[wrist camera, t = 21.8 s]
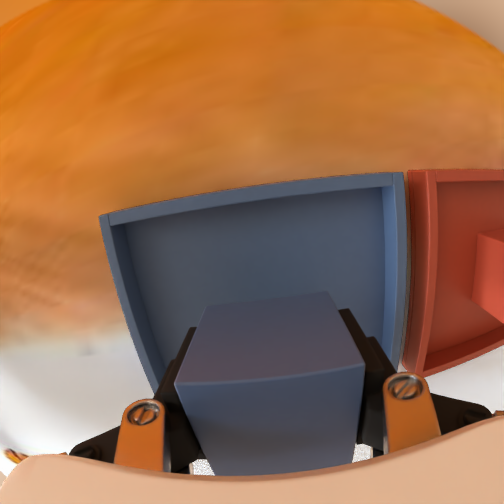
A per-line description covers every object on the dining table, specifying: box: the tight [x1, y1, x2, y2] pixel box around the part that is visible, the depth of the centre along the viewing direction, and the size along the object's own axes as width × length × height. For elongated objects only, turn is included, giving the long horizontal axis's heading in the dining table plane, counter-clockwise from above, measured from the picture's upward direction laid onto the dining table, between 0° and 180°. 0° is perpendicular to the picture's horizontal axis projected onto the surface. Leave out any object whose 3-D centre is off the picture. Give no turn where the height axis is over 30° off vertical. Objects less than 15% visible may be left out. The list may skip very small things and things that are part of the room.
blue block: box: [174, 291, 365, 476], centre depth 9 cm, size 4×4×4 cm
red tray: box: [402, 169, 504, 378], centre depth 13 cm, size 14×12×2 cm
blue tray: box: [99, 172, 407, 395], centre depth 14 cm, size 14×12×2 cm
